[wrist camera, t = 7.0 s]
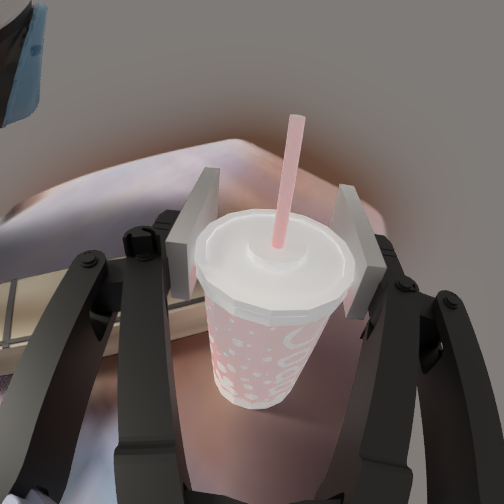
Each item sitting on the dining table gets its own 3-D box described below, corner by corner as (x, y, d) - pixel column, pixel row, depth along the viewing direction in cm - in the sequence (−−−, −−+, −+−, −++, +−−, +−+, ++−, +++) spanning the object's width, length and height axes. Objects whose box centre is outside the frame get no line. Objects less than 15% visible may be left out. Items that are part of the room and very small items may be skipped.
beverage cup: (214, 432, 14) (214, 150, 6) (192, 341, 19) (184, 96, 10) (322, 405, 16) (438, 160, 7) (285, 326, 20) (334, 103, 12)
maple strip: (-48, 321, 16) (-63, 298, 14) (245, 257, 26) (248, 230, 24) (-59, 383, 12) (-79, 360, 10) (281, 308, 22) (287, 281, 20)
